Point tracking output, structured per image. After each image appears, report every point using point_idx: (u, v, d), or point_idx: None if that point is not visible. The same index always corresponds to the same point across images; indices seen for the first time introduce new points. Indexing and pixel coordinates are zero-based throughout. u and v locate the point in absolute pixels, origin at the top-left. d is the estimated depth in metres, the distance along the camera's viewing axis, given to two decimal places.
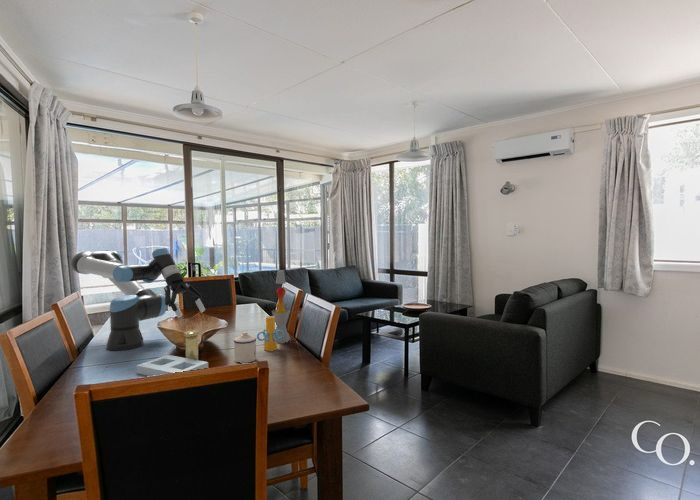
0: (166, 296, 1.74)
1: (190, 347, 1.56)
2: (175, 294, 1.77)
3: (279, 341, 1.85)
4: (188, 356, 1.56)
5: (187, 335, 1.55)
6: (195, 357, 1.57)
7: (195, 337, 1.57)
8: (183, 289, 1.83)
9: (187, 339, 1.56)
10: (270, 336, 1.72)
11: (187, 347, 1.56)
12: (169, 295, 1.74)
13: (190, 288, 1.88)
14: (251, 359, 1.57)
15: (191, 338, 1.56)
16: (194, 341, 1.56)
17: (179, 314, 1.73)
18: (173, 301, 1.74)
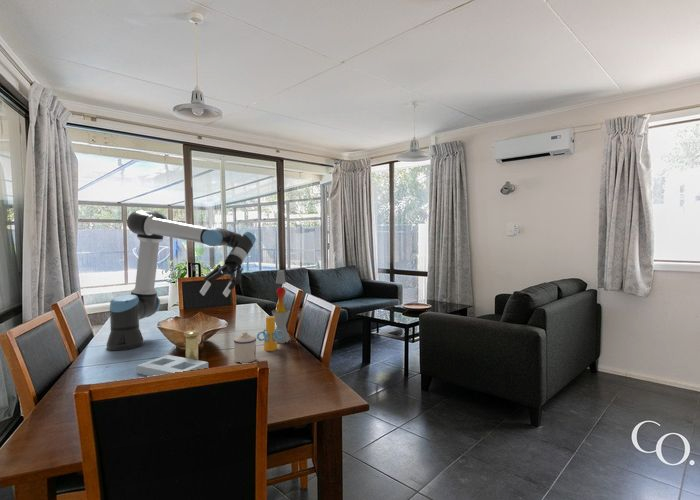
0: (239, 275, 1.72)
1: (190, 347, 1.56)
2: None
3: (279, 341, 1.85)
4: (188, 356, 1.56)
5: (187, 335, 1.55)
6: (195, 357, 1.57)
7: (195, 337, 1.57)
8: None
9: (187, 339, 1.56)
10: (270, 336, 1.72)
11: (187, 347, 1.56)
12: None
13: (217, 271, 1.79)
14: (251, 359, 1.57)
15: (191, 338, 1.56)
16: (194, 341, 1.56)
17: (227, 294, 1.66)
18: None
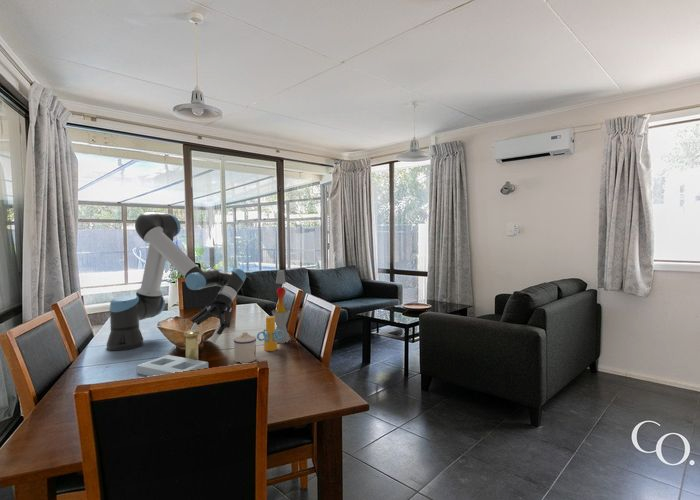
0: (228, 318, 1.64)
1: (190, 347, 1.56)
2: None
3: (279, 341, 1.85)
4: (188, 356, 1.56)
5: (187, 335, 1.55)
6: (195, 357, 1.57)
7: (195, 337, 1.57)
8: None
9: (187, 339, 1.56)
10: (270, 336, 1.72)
11: (187, 347, 1.56)
12: None
13: (205, 312, 1.72)
14: (251, 359, 1.57)
15: (191, 338, 1.56)
16: (194, 341, 1.56)
17: (215, 339, 1.59)
18: None
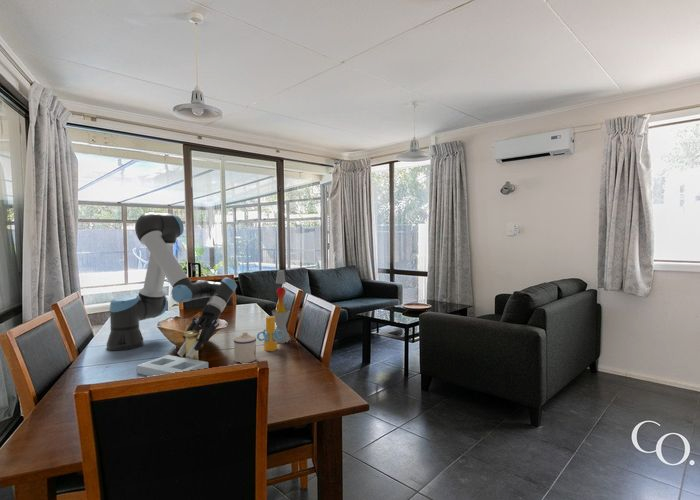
0: (210, 333, 1.59)
1: (190, 347, 1.56)
2: None
3: (279, 341, 1.85)
4: (188, 356, 1.56)
5: (187, 335, 1.55)
6: (195, 357, 1.57)
7: (195, 337, 1.57)
8: None
9: (187, 339, 1.56)
10: (270, 336, 1.72)
11: (187, 347, 1.56)
12: None
13: (195, 325, 1.66)
14: (251, 359, 1.57)
15: (191, 338, 1.56)
16: (194, 341, 1.56)
17: (192, 355, 1.54)
18: None
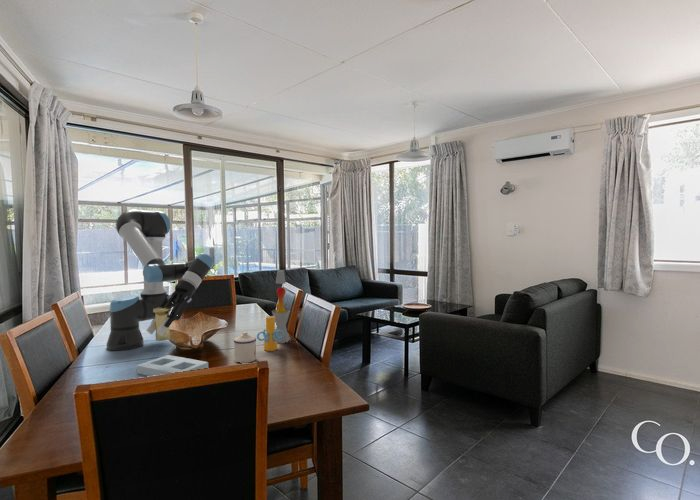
0: (182, 309, 1.49)
1: (160, 324, 1.46)
2: None
3: (279, 341, 1.85)
4: (158, 334, 1.46)
5: (157, 311, 1.45)
6: (166, 335, 1.47)
7: (166, 313, 1.47)
8: None
9: (157, 315, 1.45)
10: (270, 336, 1.72)
11: (157, 324, 1.46)
12: None
13: None
14: (251, 359, 1.57)
15: (161, 314, 1.46)
16: (165, 317, 1.46)
17: (162, 332, 1.44)
18: None
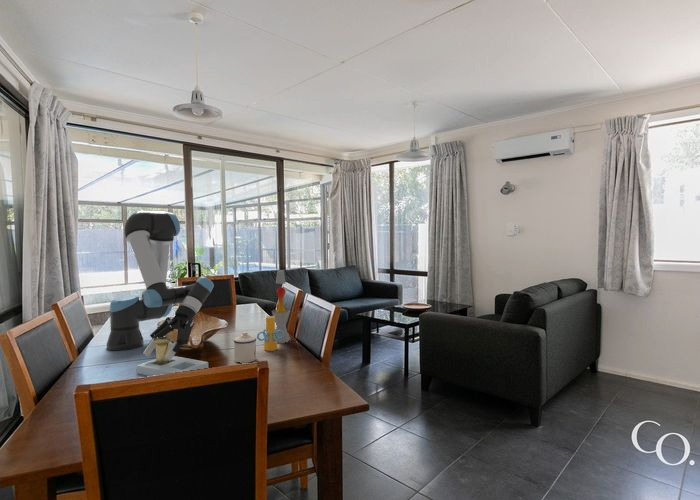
0: (188, 333, 1.49)
1: (161, 355, 1.46)
2: None
3: (279, 341, 1.85)
4: (159, 364, 1.46)
5: (157, 342, 1.45)
6: None
7: (166, 344, 1.47)
8: None
9: (157, 346, 1.46)
10: (270, 336, 1.72)
11: (157, 355, 1.46)
12: None
13: (166, 325, 1.57)
14: (251, 359, 1.57)
15: (161, 345, 1.46)
16: (165, 348, 1.47)
17: (170, 357, 1.44)
18: None
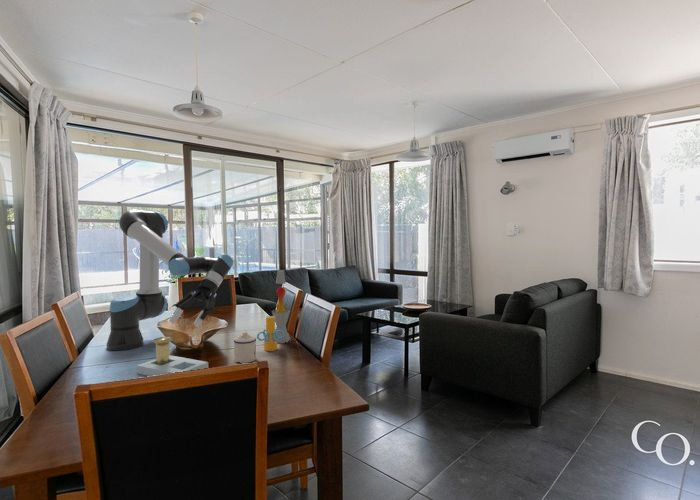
0: (213, 303, 1.60)
1: (161, 355, 1.46)
2: None
3: (279, 341, 1.85)
4: (159, 364, 1.46)
5: (157, 342, 1.45)
6: None
7: (166, 344, 1.47)
8: None
9: (157, 346, 1.46)
10: (270, 336, 1.72)
11: (157, 354, 1.46)
12: None
13: (190, 297, 1.68)
14: (251, 359, 1.57)
15: (162, 345, 1.46)
16: (165, 348, 1.47)
17: (198, 324, 1.55)
18: None
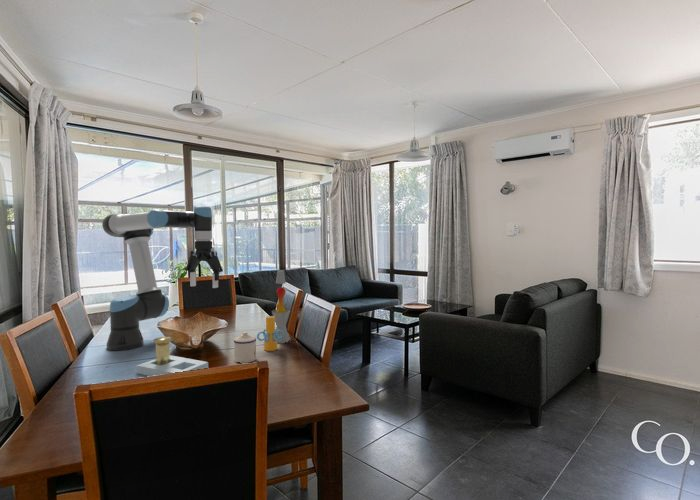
0: (217, 263, 1.70)
1: (161, 355, 1.46)
2: None
3: (279, 341, 1.85)
4: (159, 364, 1.46)
5: (157, 342, 1.45)
6: None
7: (166, 344, 1.47)
8: None
9: (157, 346, 1.46)
10: (270, 336, 1.72)
11: (157, 354, 1.46)
12: None
13: (194, 257, 1.77)
14: (251, 359, 1.57)
15: (161, 345, 1.46)
16: (165, 348, 1.47)
17: (216, 285, 1.72)
18: None
